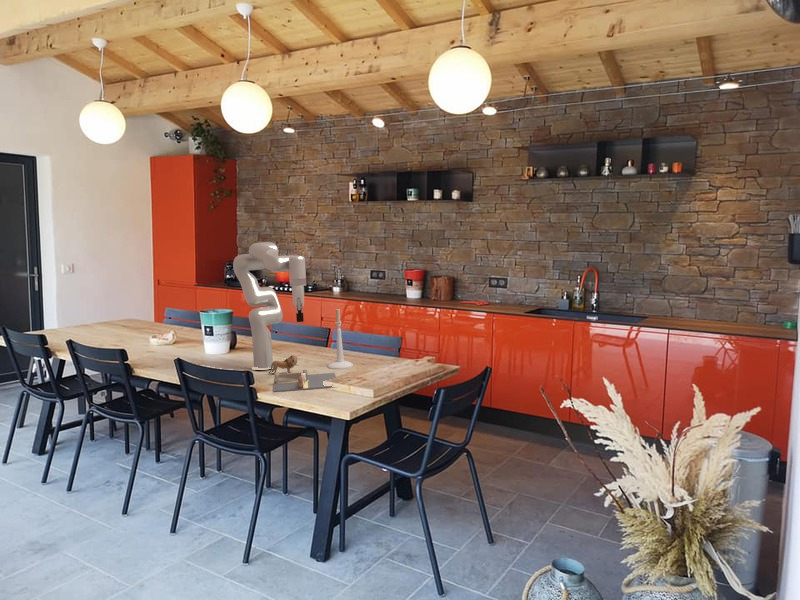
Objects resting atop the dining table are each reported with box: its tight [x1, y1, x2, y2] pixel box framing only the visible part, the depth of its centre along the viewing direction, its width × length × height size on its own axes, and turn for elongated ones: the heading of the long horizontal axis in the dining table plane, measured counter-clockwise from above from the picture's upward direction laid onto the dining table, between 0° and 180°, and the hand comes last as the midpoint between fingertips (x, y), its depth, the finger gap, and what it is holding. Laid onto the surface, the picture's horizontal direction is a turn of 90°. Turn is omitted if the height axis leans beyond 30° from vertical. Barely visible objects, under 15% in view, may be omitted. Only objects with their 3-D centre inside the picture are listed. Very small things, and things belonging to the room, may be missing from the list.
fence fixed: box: [273, 369, 308, 383], centre depth 265 cm, size 2×15×5 cm, turn 100°
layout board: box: [272, 372, 337, 393], centre depth 266 cm, size 26×28×1 cm
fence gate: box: [298, 372, 306, 388], centre depth 259 cm, size 12×2×5 cm, turn 0°
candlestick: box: [327, 308, 354, 370], centre depth 296 cm, size 13×13×30 cm
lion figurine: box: [268, 354, 298, 374], centre depth 285 cm, size 15×5×9 cm, turn 97°
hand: (300, 321), depth 272 cm, fingers closed
